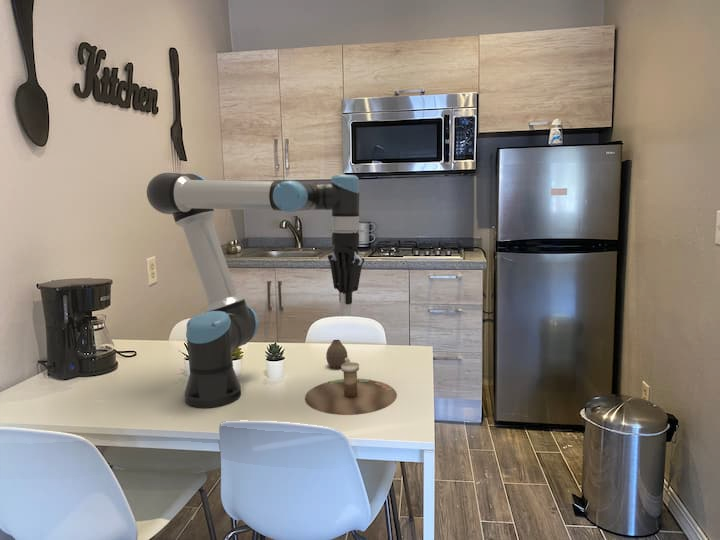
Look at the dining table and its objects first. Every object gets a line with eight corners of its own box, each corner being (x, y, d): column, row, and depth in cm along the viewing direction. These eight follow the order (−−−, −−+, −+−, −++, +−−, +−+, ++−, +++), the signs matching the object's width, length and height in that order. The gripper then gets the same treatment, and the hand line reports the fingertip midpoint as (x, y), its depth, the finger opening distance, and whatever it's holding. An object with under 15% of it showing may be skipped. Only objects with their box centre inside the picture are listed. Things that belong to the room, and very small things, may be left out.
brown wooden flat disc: (314, 425, 121) (314, 420, 121) (298, 389, 145) (297, 384, 145) (411, 410, 128) (410, 405, 128) (379, 378, 152) (379, 374, 152)
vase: (347, 369, 161) (346, 343, 159) (325, 370, 161) (324, 343, 160) (348, 362, 168) (347, 337, 166) (327, 363, 168) (326, 337, 166)
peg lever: (360, 397, 134) (359, 367, 133) (342, 398, 134) (341, 368, 133) (354, 377, 149) (354, 350, 148) (338, 378, 149) (337, 351, 148)
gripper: (371, 232, 137) (371, 316, 140) (340, 229, 146) (340, 309, 150) (351, 233, 132) (351, 321, 135) (320, 231, 141) (320, 313, 144)
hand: (345, 314), depth 142 cm, fingers closed
